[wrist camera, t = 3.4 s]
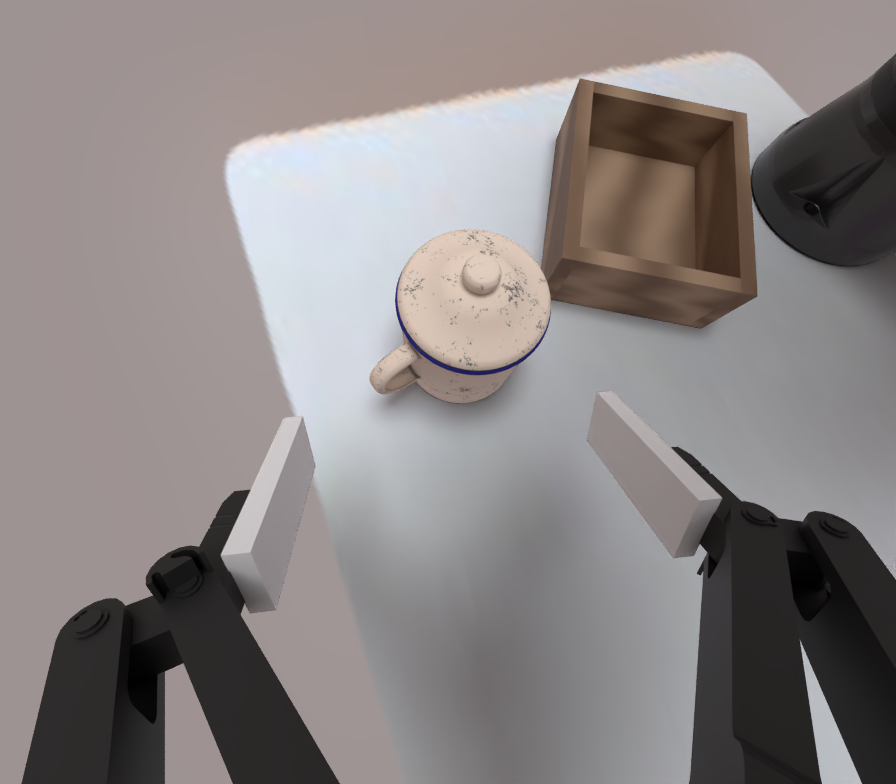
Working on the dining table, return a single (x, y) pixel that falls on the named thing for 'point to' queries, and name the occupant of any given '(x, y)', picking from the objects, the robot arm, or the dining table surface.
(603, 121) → the walnut crate
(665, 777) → the dining table surface
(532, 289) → the teacup with lid
